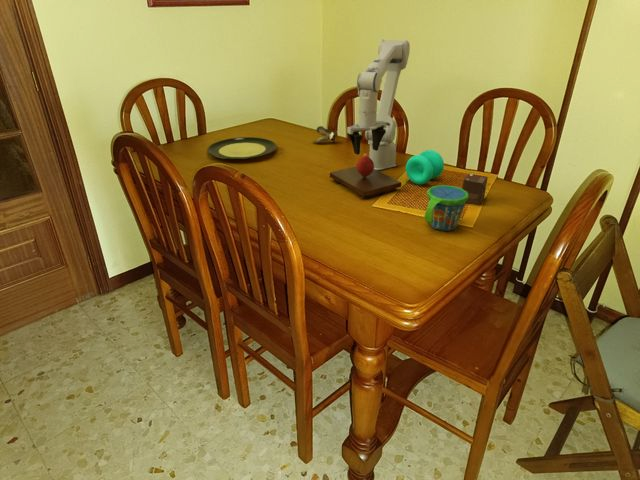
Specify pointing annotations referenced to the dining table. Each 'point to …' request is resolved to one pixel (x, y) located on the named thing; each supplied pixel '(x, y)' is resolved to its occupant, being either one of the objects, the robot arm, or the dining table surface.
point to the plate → (241, 148)
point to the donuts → (424, 167)
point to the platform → (365, 182)
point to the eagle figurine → (325, 134)
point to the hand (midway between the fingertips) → (366, 151)
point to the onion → (365, 166)
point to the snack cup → (445, 206)
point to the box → (475, 188)
